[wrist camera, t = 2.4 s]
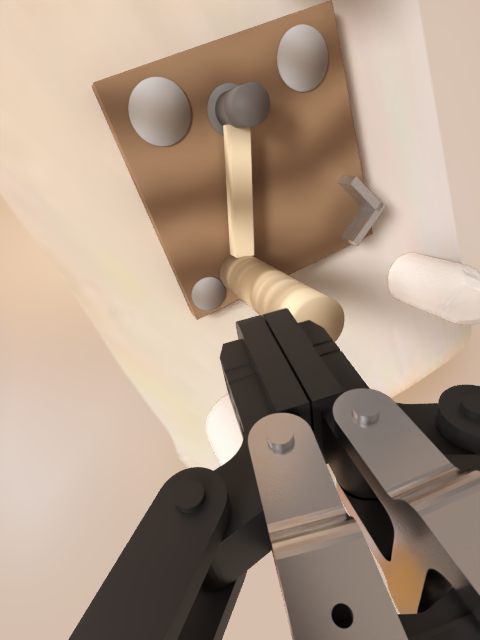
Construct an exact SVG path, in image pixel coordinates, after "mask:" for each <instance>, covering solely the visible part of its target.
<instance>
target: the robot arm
mask: <svg viewBox="0 0 480 640" xmlns="http://www.w3.org/2000/svg"><path fill="white" fill-rule="evenodd" d="M236 329H237V334H238V339H239V340H236V341H232V342H228V343H225V344H223V347H222V351H221V355H220V360H221V364H222V369H223V373H224V377H225V381H226V386H227V390H228V394H229V398H230V401H231V404H232V407H233V410H234V413H235V416H236V419H237V422H238V425H239V428H240V431H241V434H242V437H243V442H242V445H241V447H240V448H239V450H238V451H237V453H236V454H235V455H234V456H233V457H232V458H231V459H230V460H229V461H228V462H226V463H225V464H223V465H222V466H220V467H219V468H217V469H216V470H214V471H212V470H210V469H207V468H203V467H194V468H188V469H185V470H182V471H180V472H178V473H176V474H175V475H174V476H172V477H171V478H170V479H169V480H168V481H167V482H166V483H165V484H164V485H163V487H162V488H161V489H160V491H159V493H158V494H157V496H156V498H155V499H154V501H153V503H152V505H151V506H150V507H149V509H148V511H147V512H146V514H145V516H144V517H143V519H142V520H141V522H140V524H139V525H138V527H137V529H136V530H135V532H134V534H133V535H132V537H131V538H130V540H129V542H128V543H127V545H126V547H125V548H124V550H123V551H122V553H121V555H120V556H119V558H118V560H117V562H116V563H115V565H114V566H113V568H112V569H111V571H110V573H109V574H108V576H107V578H106V579H105V581H104V582H103V584H102V586H101V587H100V589H99V591H98V592H97V594H96V596H95V597H94V599H93V600H92V602H91V604H90V605H89V607H88V609H87V610H86V612H85V614H84V615H83V617H82V618H81V620H80V622H79V623H78V625H77V627H76V628H75V630H74V631H73V633H72V635H71V637H70V638H69V640H222V638H223V635H224V632H225V629H226V627H227V624H228V622H229V619H230V616H231V614H232V611H233V609H234V606H235V603H236V600H237V598H238V595H239V592H240V590H241V587H242V585H243V582H244V579H245V576H246V573H247V570H248V569H249V568H251V567H252V566H253V565H254V564H255V563H257V562H258V561H259V560H260V559H261V558H263V557H264V556H265V555H266V554H268V553H269V552H270V551H271V550H272V553H273V557H274V561H275V565H276V570H277V574H278V579H279V583H280V587H281V592H282V596H283V600H284V605H285V609H286V613H287V617H288V622H289V626H290V631H291V635H292V639H293V640H480V386H475V385H457V386H453V387H451V388H449V389H447V390H445V391H444V392H443V393H442V394H441V396H440V399H439V403H438V404H437V403H434V404H401V403H395V402H394V401H393V400H392V399H391V398H390V397H389V396H387V395H386V394H384V393H382V392H379V391H376V390H373V389H370V388H369V387H368V386H367V385H366V383H365V382H364V381H363V379H362V378H361V377H360V375H359V374H358V373H357V371H356V370H355V369H354V367H353V366H352V365H351V363H350V362H349V361H348V359H347V358H346V357H345V355H344V354H343V353H342V351H341V352H340V349H339V347H338V346H337V345H336V343H335V342H333V339H332V338H331V337H330V335H329V334H328V333H327V331H326V330H325V329H324V328H323V327H321V326H320V325H318V324H316V323H314V322H312V321H311V320H307V321H303V322H299V323H297V321H296V320H295V318H294V317H293V315H292V314H291V312H290V311H289V309H288V308H284V309H280V310H277V311H273V312H270V313H266V314H262V316H261V315H259V316H255V317H252V318H248V319H244V320H241V321H237V322H236ZM326 464H329V465H330V467H331V469H332V471H333V473H334V475H335V485H334V482H333V480H332V478H331V475H330V473H329V470H328V468H327V465H326ZM341 500H342V502H343V504H344V506H345V507H346V509H347V511H348V512H349V514H350V516H349V515H348V514H347V513H346V511H345V509H344V507H343V504H342V502H341ZM367 544H368V545H367ZM368 546H369V547H370V549H371V551H372V552H373V554H374V556H375V558H376V559H377V561H378V563H379V564H380V566H381V568H382V570H383V572H384V575H385V577H386V580H387V584H388V588H389V591H390V593H391V596H392V598H393V600H394V603H395V605H396V607H397V609H398V611H399V612H400V614H399V615H398V614H397V613H396V610H395V608H394V605H393V603H392V601H391V598H390V596H389V594H388V591H387V589H386V587H385V585H384V582H383V580H382V577H381V575H380V573H379V570H378V568H377V566H376V563H375V561H374V559H373V557H372V554H371V552H370V549H369V547H368Z"/></svg>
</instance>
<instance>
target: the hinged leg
mask: <svg viewBox="0 0 480 640" xmlns="http://www.w3.org/2000/svg"><path fill="white" fill-rule="evenodd" d="M269 112H270V98H269V95H268V92H267V91H266V89H265V88H264V87H263V86H262V85H260V84H259V83H256V82H248V83H245V84H243V85H240V86H238V87H235V88H233V89H230V90H228V91H225V92H223V93H222V94H221V95H220V96H219V97H218V99H217V101H216V105H215V114H216V117H217V119H218V121H219V123H220V124H221V125H222V126H223V131H224V150H225V168H226V187H227V205H228V224H229V243H230V255H229V256H228V257H227V258H226V259H225V260H224V262H223V263H222V266H221V269H220V278H221V281H222V283H223V285H224V286H225V287H226V288H227V289H229V290H230V291H231V292H232V293H233V294H235V295H236V296H237V297H238V298H239V299H241V300H242V301H243V302H244V303H246V304H247V305H248V306H249V307H250V308H252V309H253V310H254V311H255V312H256V313H258V314H259V315H261V316H262V314H266V313H270V312H273V311H277V310H280V309H284V308H288V309H289V311H290V312H291V314H292V315H293V317H294V318H295V320H296V321H297V323H299V322H303V321H307V320H311V321H312V322H314V323H316V324H318V325H320V326H321V327H323V328H324V329H325V330H326V331H327V333H328V334H329V335H330V337H331V338H332V339H333V342H335V341H336V340H337V339H338V337H339V336H340V334H341V332H342V329H343V326H344V312H343V309H342V307H341V306H340V304H339V303H338V302H336V301H335V300H333V299H331V298H330V297H328V296H326V295H324V294H322V293H320V292H318V291H317V290H315V289H313V288H311V287H309V286H307V285H305V284H304V283H302V282H300V281H298V280H296V279H294V278H292V277H291V276H289V275H287V274H285V273H283V272H281V271H279V270H278V269H276V268H274V267H272V266H270V265H268V264H266V263H265V262H263V261H261V260H259V259H257V258H255V257H253V255H254V231H253V198H252V165H251V132H250V127H252V126H257V125H260V124H261V123H263V122H264V121H265V120H266V118H267V117H268V114H269Z"/></svg>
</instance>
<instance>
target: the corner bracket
mask: <svg viewBox="0 0 480 640" xmlns="http://www.w3.org/2000/svg"><path fill="white" fill-rule="evenodd" d="M337 183H338V184H339V185H340V186H341V187H342V188H343V189H344V190H345V191H346V192H347V193H348V194H349V195H350V196H351V197H352V198H353V199H354V200H355V201H356V202H357V203H358V204H359V205H360V206H361V207H362V208H361V209H360V210H359V212H358V213H357V215H356V216H355V218H354V219H353V220H352V222H351V223H350V225H349V226H348V228H347V229H346V230H345V232H344V233H343V235H342V236H341V239H342V240H344V241H345V242H347V243H351V244H354V245H357V246H358V245H359V244H360V242H361V241H362V239H363V238H364V237H365V235H366V234H367V232H368V231H369V229H370V228H371V227H372V225H373V224H374V222H375V221H376V219H377V218H378V217H379V215H380V214H381V212H382V211H383V210H384V208H385V206H384V204H383V203H382V202H380V201H379V200H378V198H377V197H376V196H375V195H374V194H373V193H372V192H371V191H370V190H369V189H368V188H367V187H366V186H365V185H364V184H363V183H362V182H361V181H360V180H359V178H358V177H357V176H349V175H342V176H341V178H340V179H339V181H338V182H337Z"/></svg>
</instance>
